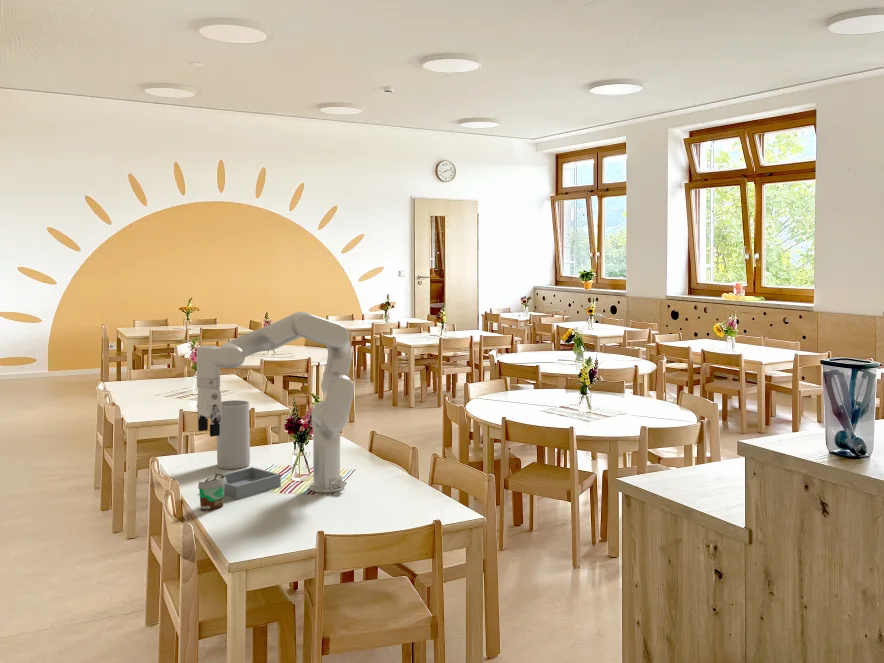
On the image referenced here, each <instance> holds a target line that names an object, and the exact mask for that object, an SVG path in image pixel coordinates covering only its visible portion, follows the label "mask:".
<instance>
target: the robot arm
mask: <svg viewBox="0 0 884 663" xmlns="http://www.w3.org/2000/svg"><path fill="white" fill-rule="evenodd" d="M301 338H304V339H306V340H309V341H312V342H315V343H319V344H320V345H321V344H322V345H324V346H326V350H327V359H326V364H325V368H324V373H323V377H322V380H321V384H320V388H321V391H322V393H323V395H325V400H320V401H319V402H317V403H316V404H315V405H314V406H313V408H312V412H311V424H312V435H313V436H312V437H313V438H312V439H313V442H312V444H313V446H312V448H313V449H312V450H313V451H312V452H313V454H312V456H313V457H312V458H313V459H312V462H313V469H312V472H313V475H312V476H313V478H312V479H313V482H311V483H309V485H308V489H309V490H310V491H311V492H314V493H319V494H320V493H322V494H328V493H329V494H330V493H336V492H341V491H342V490H343V489H345V488H346V486H347V484H348V483H347V481H346V480H345V481H343V476H341V433H340V432H341V431H342V430H344V428H345V427H346V425H347V423H348V419H349V417H350V413H351V412H350V411H351V409H352V408H351V407H352V405H353V400H354V395H355V386H354V382H353V380H351V378H350V377H349V375H350V372H351V371H350V370H351V365H352V359H353V358H352V357H353V352H352V351H353V350H352V346H351V342H350V332H349V329H348V328H347V326H345V325H344V324H342V323H339V322H335V321H332V320H329V319H326V318H322V317H320V316H318V315H315V314H312V313H309V312H307V311H297V312H294V313H292V314H290V315H288V316H285V317H283V318H281V319H280V320H277V321H274V322H273V323H271V324H268V325H266V326H264V327H261V328H258V329H256V330H254V331H251V332H247V333H245V334H243V335H242V334H241V335H240V336H237V337H236V338H234V339H231V340H230V341H229V340H228V341H227V342H225V343H223V344H222V345H220V347H219V346H216V345H201V346H198V347H197V348H196V388H197V400H196V403H197V404H196V408H197V412H196V413H197V422H198V423H197V427H198V432H203V431H208V430H209V436H210V437H211V438H212V437H213V438H214V437H217V436H219V435H220V420H221V418H220V417H221V416H222V404H221V402H222V394H221V368H225V369H236V368H238V367H240V366H242V365H243V364H244V362H245V359H246V358H247V357H249V356H252V355H253V354H257V353H261V352H270V351H274V350H277V349H279V348H281V347H283V346H285V345H288V344H290V343H291V342H294V341H296V340H298V339H301ZM209 421H210V424H209ZM208 427H209V428H208Z"/></svg>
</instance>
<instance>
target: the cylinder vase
mask: <svg viewBox="0 0 884 663" xmlns="http://www.w3.org/2000/svg"><path fill="white" fill-rule="evenodd" d="M221 404H222V416H221V417H220V418H221V420H220V435H219V436H216V459H217V460H216V461H217V462H216V463H217V464H216V465H217V466H218V468H219V469H222V470H224V469H225V470H239V469H240V470H241V469H245V468H248V466H249V465H250V464H251V444H250V442H251V441H250V440H251V437H250V434H251V433H250V402H249V401H247V400H236V399H235V400H232V399H231V400H223V401H222V400H221Z"/></svg>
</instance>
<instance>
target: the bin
mask: <svg viewBox="0 0 884 663" xmlns="http://www.w3.org/2000/svg"><path fill="white" fill-rule="evenodd" d="M223 474H224V475H225V477H226V481H227V483H226V484H225V485H224V497H227V498H230V499H233V500H241V499H244V498H247V497H250V496H253V495H257V494H261V493H264V492H267V491H271V490H273V489H277V488H278V489H279V488H281V486H282V484H281V481H282V480H281V478H282V477H281V476H282V475H281V474H280V473H277V472H273V471H269V470H265V469H261V468H257V467H254V466H250V467H246V468H242V469H240V470H239V469H238V470H236V471H233V472H228V473H223Z"/></svg>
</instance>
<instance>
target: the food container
mask: <svg viewBox="0 0 884 663" xmlns="http://www.w3.org/2000/svg"><path fill="white" fill-rule="evenodd" d="M214 474H215V475H213V476H211V477H208V478H207V479H205V480H204V481H198V486H197V489H198V490H199V491H198V492H199V501H200V503H199V505H200V512H211V511H216V510H219V509H222V508H223V507H224V502H225V501H224V500H225V499H224V498H225V496H224V485H225V484H226V483H227V481H226V477H225V475H224V474H225V473H221V472H215V473H214Z"/></svg>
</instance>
